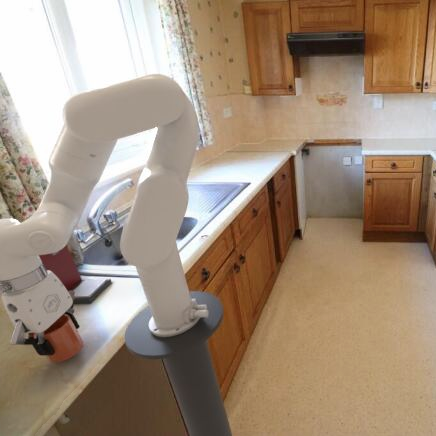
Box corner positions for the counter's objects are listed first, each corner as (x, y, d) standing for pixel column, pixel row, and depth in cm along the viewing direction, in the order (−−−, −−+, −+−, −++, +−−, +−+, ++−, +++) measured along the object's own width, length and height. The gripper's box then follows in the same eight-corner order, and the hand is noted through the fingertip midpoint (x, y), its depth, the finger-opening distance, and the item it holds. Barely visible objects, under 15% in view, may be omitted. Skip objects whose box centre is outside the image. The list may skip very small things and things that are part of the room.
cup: (90, 338, 78) (76, 313, 75) (69, 362, 72) (54, 335, 68) (63, 339, 78) (48, 314, 75) (40, 363, 72) (23, 337, 69)
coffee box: (51, 272, 109) (31, 230, 102) (53, 264, 114) (34, 223, 107) (84, 263, 113) (66, 222, 106) (84, 255, 118) (68, 216, 111)
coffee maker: (112, 282, 102) (95, 241, 96) (90, 303, 93) (71, 259, 86) (83, 283, 102) (65, 242, 96) (59, 304, 93) (37, 260, 87)
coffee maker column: (85, 283, 102) (64, 236, 95) (61, 304, 93) (36, 253, 86) (66, 283, 102) (45, 236, 95) (41, 304, 93) (14, 254, 86)
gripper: (1, 305, 58) (46, 373, 66) (71, 253, 74) (101, 313, 81) (-38, 307, 58) (11, 374, 66) (40, 255, 74) (72, 314, 82)
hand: (60, 340), depth 74 cm, fingers closed on cup, 6 cm apart
